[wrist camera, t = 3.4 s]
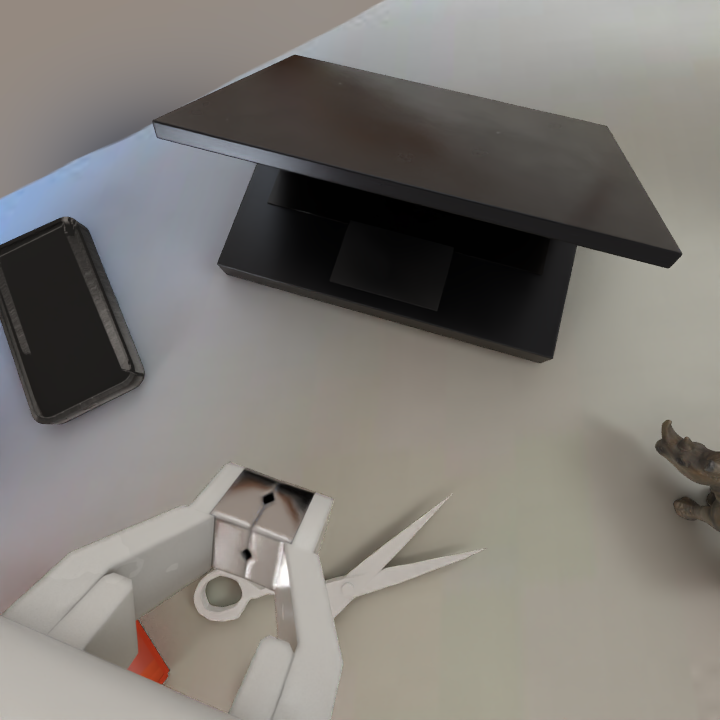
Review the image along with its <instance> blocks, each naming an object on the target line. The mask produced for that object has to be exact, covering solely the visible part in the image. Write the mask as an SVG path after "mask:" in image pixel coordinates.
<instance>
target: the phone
mask: <svg viewBox="0 0 720 720" xmlns="http://www.w3.org/2000/svg"><path fill="white" fill-rule="evenodd" d="M0 320H1V323H2V326H3V329H4V332H5V335H6V338H7V341H8V344H9V347H10V350H11V353H12V356H13V359H14V362H15V365H16V368H17V371H18V374H19V377H20V380H21V383H22V386H23V389H24V392H25V395H26V399H27V402H28V405H29V408H30V411H31V414H32V416H33V418H34V420H36V421H37V422H38V423H41V424H63V423H66V422H68V421H70V420H72V419H74V418H76V417H78V416H80V415H82V414H84V413H86V412H88V411H90V410H92V409H94V408H96V407H98V406H100V405H102V404H104V403H106V402H108V401H110V400H112V399H114V398H117V397H119V396H121V395H123V394H125V393H127V392H129V391H131V390H133V389H135V388H136V387H138V386H139V385H140V384H141V382H142V380H143V378H144V368H143V365H142V363H141V360H140V358H139V355H138V353H137V350H136V348H135V345H134V343H133V340H132V338H131V335H130V333H129V330H128V328H127V325H126V323H125V320H124V318H123V315H122V313H121V310H120V308H119V305H118V303H117V300H116V298H115V296H114V293H113V291H112V288H111V286H110V283H109V281H108V278H107V276H106V273H105V271H104V268H103V266H102V263H101V261H100V258H99V256H98V253H97V251H96V248H95V246H94V243H93V241H92V238H91V236H90V233H89V231H88V229H87V228H86V227H85V226H83V225H82V224H80V223H79V222H78V221H76V220H75V219H73V218H71V217H62V218H59V219H56V220H54V221H52V222H50V223H48V224H45V225H43V226H41V227H39V228H37V229H34V230H32V231H30V232H28V233H26V234H23V235H21V236H19V237H17V238H15V239H12V240H10V241H8V242H6V243H4V244H1V245H0Z"/></svg>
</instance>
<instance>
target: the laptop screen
mask: <svg viewBox="0 0 720 720" xmlns="http://www.w3.org/2000/svg"><path fill="white" fill-rule="evenodd" d="M153 125H154V129H155V132H156V136H157V138H160V139H163V140H167V141H171V142H175V143H179V144H183V145H187V146H191V147H195V148H199V149H203V150H207V151H210V152H214V153H218V154H222V155H226V156H230V157H234V158H238V159H242V160H246V161H250V162H253V163H257V164H261V165H265V166H269V167H273V168H277V169H281V170H285V171H289V172H293V173H296V174H300V175H304V176H308V177H312V178H316V179H320V180H324V181H328V182H332V183H336V184H339V185H343V186H347V187H351V188H355V189H359V190H363V191H367V192H371V193H375V194H379V195H383V196H386V197H390V198H394V199H398V200H402V201H406V202H410V203H414V204H418V205H422V206H426V207H429V208H433V209H437V210H441V211H445V212H449V213H453V214H457V215H461V216H465V217H469V218H472V219H476V220H480V221H484V222H488V223H492V224H496V225H500V226H504V227H508V228H512V229H515V230H519V231H523V232H527V233H531V234H535V235H539V236H543V237H547V238H551V239H555V240H559V241H562V242H566V243H570V244H574V245H578V246H582V247H586V248H590V249H594V250H598V251H602V252H605V253H609V254H613V255H617V256H621V257H625V258H629V259H633V260H637V261H641V262H645V263H648V264H652V265H656V266H660V267H664V268H670V267H671V266H672V265H673V264H674V263H675V262H676V261H677V260H678V259H679V258H680V257H681V256H682V252H681V250H680V249H679V247H678V245H677V244H676V242H675V240H674V239H673V237H672V235H671V233H670V232H669V230H668V228H667V227H666V225H665V223H664V222H663V220H662V218H661V217H660V215H659V213H658V211H657V210H656V208H655V206H654V205H653V203H652V201H651V200H650V198H649V196H648V195H647V193H646V191H645V189H644V188H643V186H642V184H641V183H640V181H639V179H638V178H637V176H636V174H635V172H634V171H633V169H632V167H631V166H630V164H629V162H628V161H627V159H626V157H625V156H624V154H623V152H622V150H621V149H620V147H619V145H618V144H617V142H616V140H615V139H614V137H613V135H612V133H611V132H610V130H609V128H608V127H607V126H605V125H600V124H596V123H592V122H587V121H583V120H579V119H574V118H570V117H565V116H561V115H557V114H552V113H548V112H543V111H539V110H535V109H530V108H526V107H522V106H517V105H513V104H508V103H504V102H500V101H495V100H491V99H487V98H482V97H478V96H473V95H469V94H465V93H460V92H456V91H452V90H447V89H443V88H438V87H434V86H430V85H425V84H421V83H417V82H412V81H408V80H403V79H399V78H395V77H390V76H386V75H382V74H377V73H373V72H368V71H364V70H360V69H355V68H351V67H347V66H342V65H338V64H333V63H329V62H325V61H320V60H316V59H312V58H307V57H303V56H298V55H293V56H291V57H288V58H286V59H284V60H282V61H280V62H278V63H276V64H273V65H271V66H269V67H267V68H265V69H263V70H260V71H258V72H256V73H254V74H252V75H250V76H247V77H245V78H243V79H241V80H239V81H237V82H234V83H232V84H230V85H228V86H226V87H224V88H222V89H219V90H217V91H215V92H213V93H211V94H209V95H206V96H204V97H202V98H200V99H198V100H196V101H193V102H191V103H189V104H187V105H185V106H183V107H180V108H178V109H176V110H174V111H172V112H170V113H168V114H165V115H163V116H161V117H159V118H157V119H155V120H153Z"/></svg>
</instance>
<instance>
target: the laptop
mask: <svg viewBox="0 0 720 720" xmlns="http://www.w3.org/2000/svg"><path fill="white" fill-rule="evenodd" d="M576 247H577V245H574V244H570V243H566V242H562V241H559V240H555V239H551V238H547V237H543V236H539V235H535V234H531V233H527V232H523V231H519V230H515V229H512V228H508V227H504V226H500V225H496V224H492V223H488V222H484V221H480V220H476V219H472V218H469V217H465V216H461V215H457V214H453V213H449V212H445V211H441V210H437V209H433V208H429V207H426V206H422V205H418V204H414V203H410V202H406V201H402V200H398V199H394V198H390V197H386V196H383V195H379V194H375V193H371V192H367V191H363V190H359V189H355V188H351V187H347V186H343V185H339V184H336V183H332V182H328V181H324V180H320V179H316V178H312V177H308V176H304V175H300V174H296V173H293V172H289V171H285V170H281V169H277V168H273V167H269V166H265V165H261V164H257V165H256V167H255V170H254V172H253V175H252V177H251V180H250V182H249V185H248V187H247V190H246V192H245V195H244V197H243V200H242V202H241V205H240V207H239V210H238V213H237V215H236V218H235V220H234V223H233V225H232V228H231V230H230V233H229V235H228V238H227V240H226V243H225V245H224V248H223V250H222V253H221V255H220V258H219V260H218V263H217V265H218V266H219V267H220V268H221V269H222V270H223V271H224V272H225V273H226V274H228V275H231V276H235V277H238V278H242V279H245V280H249V281H252V282H256V283H259V284H263V285H267V286H270V287H274V288H277V289H281V290H284V291H288V292H291V293H295V294H298V295H302V296H305V297H309V298H312V299H316V300H319V301H323V302H326V303H330V304H334V305H337V306H341V307H344V308H348V309H351V310H355V311H358V312H362V313H365V314H369V315H372V316H376V317H379V318H383V319H386V320H390V321H394V322H397V323H401V324H404V325H408V326H411V327H415V328H418V329H422V330H425V331H429V332H432V333H436V334H439V335H443V336H446V337H450V338H454V339H457V340H461V341H464V342H468V343H471V344H475V345H478V346H482V347H485V348H489V349H492V350H496V351H499V352H503V353H506V354H510V355H514V356H517V357H521V358H524V359H528V360H531V361H535V362H538V363H542V362H545V361H548V360H551V359H553V356H554V351H555V346H556V341H557V337H558V332H559V327H560V323H561V318H562V313H563V308H564V304H565V299H566V294H567V290H568V285H569V280H570V276H571V271H572V266H573V261H574V257H575V252H576Z"/></svg>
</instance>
